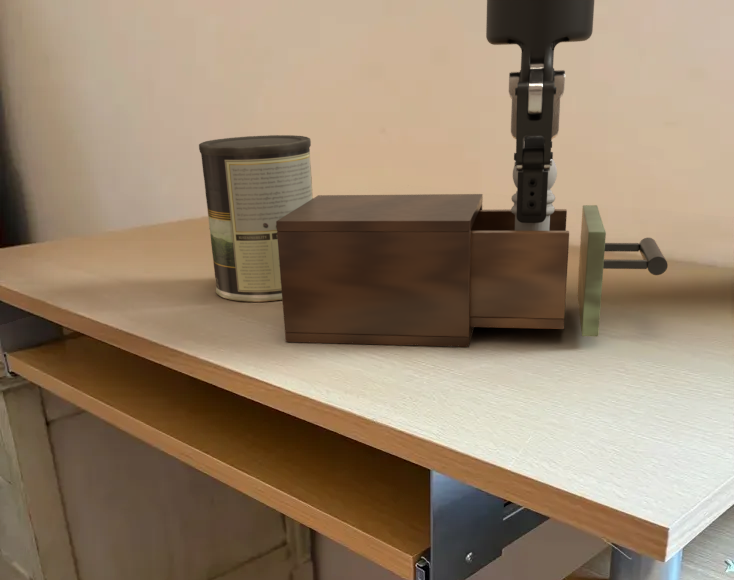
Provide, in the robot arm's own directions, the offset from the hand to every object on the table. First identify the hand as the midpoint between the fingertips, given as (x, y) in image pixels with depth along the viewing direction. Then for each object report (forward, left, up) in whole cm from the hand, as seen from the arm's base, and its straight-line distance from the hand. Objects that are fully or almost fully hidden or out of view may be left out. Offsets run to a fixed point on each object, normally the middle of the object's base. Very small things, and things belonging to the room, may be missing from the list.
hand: (531, 216), depth 65 cm
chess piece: (0, 0, -4) cm, 4 cm away
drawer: (-1, 0, -8) cm, 8 cm away
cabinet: (+12, 0, -9) cm, 15 cm away
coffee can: (+26, -10, -9) cm, 29 cm away
